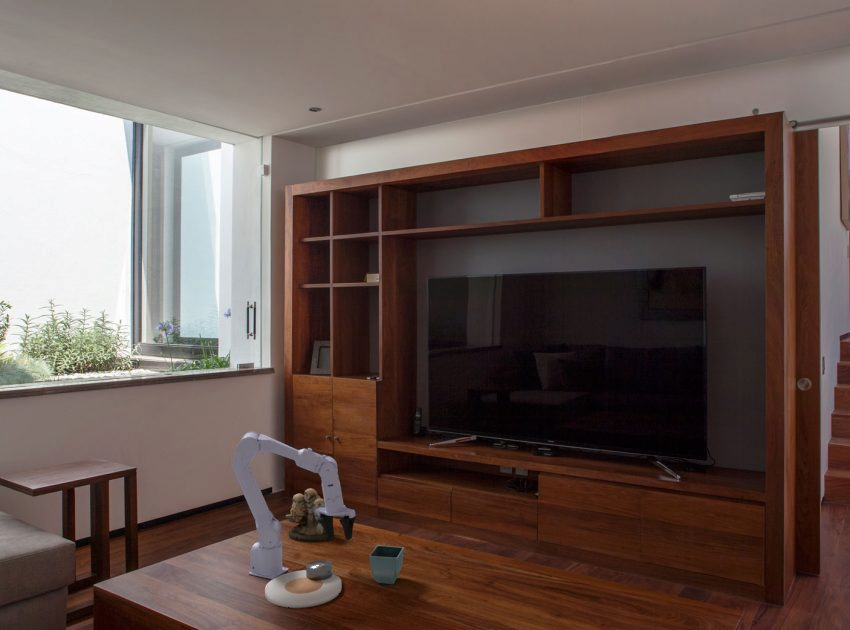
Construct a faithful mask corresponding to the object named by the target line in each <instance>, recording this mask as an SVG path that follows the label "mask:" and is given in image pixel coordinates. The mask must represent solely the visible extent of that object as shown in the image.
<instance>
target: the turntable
mask: <svg viewBox="0 0 850 630" xmlns="http://www.w3.org/2000/svg"><path fill="white" fill-rule="evenodd" d="M342 582H343V581H342V579H341V578H340V577H339V576H338V575H337V574H335V573H333V575H332V577H330V578H328V579H325V580H318V581H316V580H310V579H308V578H307V577H306V569H304V570H303V569H302V570H296V571H290V572H287V573H286V572H285V573H282V574H281V575H279V576H277V577H276V578H274V579H270V581H269V582H267V583H266V586H265V588H264V596H265V599H266V600H267V601H268V602H269V603H271V604H272V605H275V606H278V607H283V608H288V607H289V608H292V609H301V608H310V607H315V606H320V605H322V604H325V603H328V602H331V601H332V600H333V599H335V598H337V597H338V596H339V595H340V594H339V593H341V592H342V587H343V585H342Z"/></svg>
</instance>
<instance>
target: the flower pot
mask: <svg viewBox="0 0 850 630" xmlns="http://www.w3.org/2000/svg"><path fill="white" fill-rule="evenodd" d="M404 551H405V547H402V546H390V545H380V544H378V545H376V546H375V547H374V549H373V550H372V551H371V552H370V554H369V563H370V570H371V574H372V577H373V579H374V580H375V582H376V583H378V584H386V585H387V584H388V585H394V584H395V582H396V580H397V579H398V577H399V575H400V572H401V569H402V567H403V562H404V553H405V552H404Z"/></svg>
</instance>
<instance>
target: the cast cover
mask: <svg viewBox="0 0 850 630" xmlns="http://www.w3.org/2000/svg"><path fill="white" fill-rule="evenodd" d="M305 565H306V566H305V570H306V577H307V578H308V579H310V580H316V581H318V580H325V579H328V578H330V577H332V575H333V574H334V564H333V562H332V561H330V560H327V559H318V560H317V559H316V560H312V561H310V562H308V563H307V564H305Z"/></svg>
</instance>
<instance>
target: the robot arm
mask: <svg viewBox="0 0 850 630" xmlns="http://www.w3.org/2000/svg"><path fill="white" fill-rule="evenodd" d="M258 452H259V454H260V455H262V454H263V455H264V454H266V453H273V454H276V455H278V456H281V457H284V458H288V459H290V460H293V461H294V462H295V464H296V466H297V467H299V468H302V469H304V470H307V471H310V472H312V473H314V474H318V476H320V479H321V489H322V494H323V499H324V502H325V508H319V509H317V515H318V516H320V517H319V518H318V521H319V522H320V524H321V525H322V526H323V528H324V530H325V532H326V534H327V536H328V538H331V537H333V536H334V537H335V530H334V517H342V518H341V519H339V523H340V525H341V527H342V529H343V533H344V537H345V540H346V541H349V540H351V539H353V529H354V523H355V520H356V519H357V516H356V511H355V509H351V508H348V507H347V506H346V505H345V504H344V499H343V493H342V487H341V483H340V479H339V474H338V472H339V470H338V463H337V461H336V460H335V459H334V458H333V457H332V456H330V455H329V456H328V455H326V454H320V453H317V452H315V451H313V448H311V447H308V448H302V449H297V448H294V447H292V446H290V445H288V444H285V443H283V442H281V441H279V440H277V439H275V438H273V437H270V436H268V435H266V434H263V433H258V432H257V431H248V432H246V433H245V434H243V435H242V438H241V439H240V440H239V442H238V444H237V445H236V447H235V449H234V455H233V461H232V465H231V466H232V467H231V468H232V471H233V473H234V475H235V478H236V480H237V482H238V485H239V487H240V488H241V489H240V490H241V491H242V493H243V496H244V499H245V500H246V502H247V505H248V508H249V510H250V512H251V513H252V516H253V518H254V521H255V527H256V531H257V534H258V536H257V539H258V541H257V542H255V543H254V544H253V545H252V546H251V549H250V551H249V553H250V554H249V557H250V560H249V562H250V565H249V566H250V567H249V568H250V571H249V572H248V575H251V576H256V577H261V578H264V579H269V580H272V579H274V578H276V577H278V576H280V575H283V574H285V573H286V572H287V571H289V568H288V567H284V566H283V541H282V539H281V538H280V535H281V534H280V533H281V532H282V525H281V522H280V521H279V520H278V519H277V518H275V516H274V514H273V512H272V511H271V510H270V509H269V506H268V504H267V502H266V500H265V497H264V496H263V492H262V491H261V489H260V486H259V483H258V482H257V480H256V477H255V475H254V473H253V471H252V469H251V466H250V465H251V463H252V461H253V459H254V457H255V456H256V455H257V454H258ZM334 537H333V538H334Z"/></svg>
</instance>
